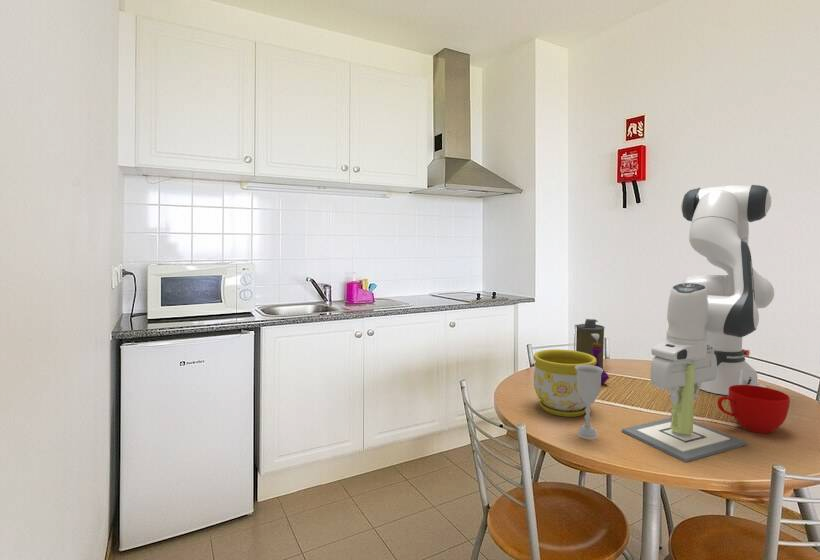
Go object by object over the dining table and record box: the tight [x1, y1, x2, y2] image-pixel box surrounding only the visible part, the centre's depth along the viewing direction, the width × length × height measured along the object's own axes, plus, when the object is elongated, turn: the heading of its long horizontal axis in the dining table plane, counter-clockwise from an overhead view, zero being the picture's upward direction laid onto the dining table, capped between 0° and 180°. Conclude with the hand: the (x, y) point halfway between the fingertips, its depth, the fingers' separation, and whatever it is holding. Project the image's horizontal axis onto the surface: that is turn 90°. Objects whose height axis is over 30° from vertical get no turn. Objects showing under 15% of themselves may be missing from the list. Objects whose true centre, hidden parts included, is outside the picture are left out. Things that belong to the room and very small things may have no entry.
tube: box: [670, 361, 695, 434], centre depth 114 cm, size 6×5×20 cm
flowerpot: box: [533, 349, 597, 418], centre depth 134 cm, size 18×18×16 cm
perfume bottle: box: [591, 334, 610, 386], centre depth 158 cm, size 8×8×18 cm
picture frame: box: [621, 417, 748, 463], centre depth 115 cm, size 22×18×1 cm
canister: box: [573, 318, 605, 369], centre depth 175 cm, size 11×10×20 cm
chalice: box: [575, 365, 604, 441], centre depth 116 cm, size 7×7×18 cm
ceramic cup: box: [717, 385, 791, 434], centre depth 120 cm, size 13×17×10 cm
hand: (683, 400), depth 114 cm, fingers closed on tube, 5 cm apart
